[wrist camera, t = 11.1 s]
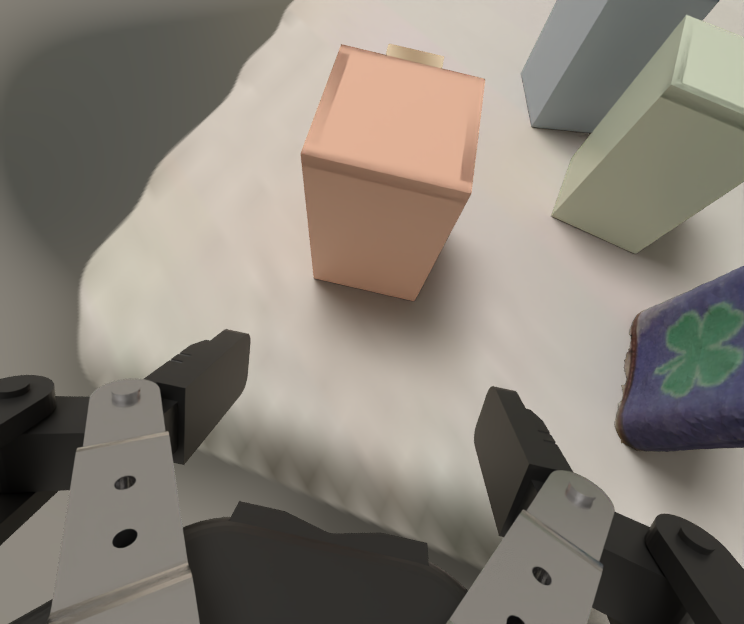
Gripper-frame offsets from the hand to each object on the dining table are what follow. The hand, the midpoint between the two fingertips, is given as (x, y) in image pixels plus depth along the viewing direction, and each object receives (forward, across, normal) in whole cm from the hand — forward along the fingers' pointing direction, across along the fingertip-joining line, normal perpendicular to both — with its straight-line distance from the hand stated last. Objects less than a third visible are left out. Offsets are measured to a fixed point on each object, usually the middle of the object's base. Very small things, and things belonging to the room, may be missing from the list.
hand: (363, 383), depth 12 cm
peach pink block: (+13, +1, -2) cm, 13 cm away
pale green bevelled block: (+19, -15, -8) cm, 25 cm away
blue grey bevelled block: (+26, -12, -16) cm, 32 cm away
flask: (+11, -17, +2) cm, 20 cm away
